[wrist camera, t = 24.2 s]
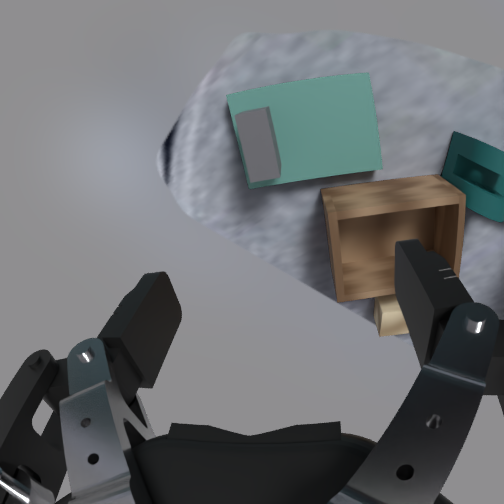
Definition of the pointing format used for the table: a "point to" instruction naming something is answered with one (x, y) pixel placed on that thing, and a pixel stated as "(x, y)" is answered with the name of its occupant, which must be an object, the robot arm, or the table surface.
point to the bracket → (477, 175)
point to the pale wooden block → (389, 316)
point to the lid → (306, 129)
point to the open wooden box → (389, 229)
